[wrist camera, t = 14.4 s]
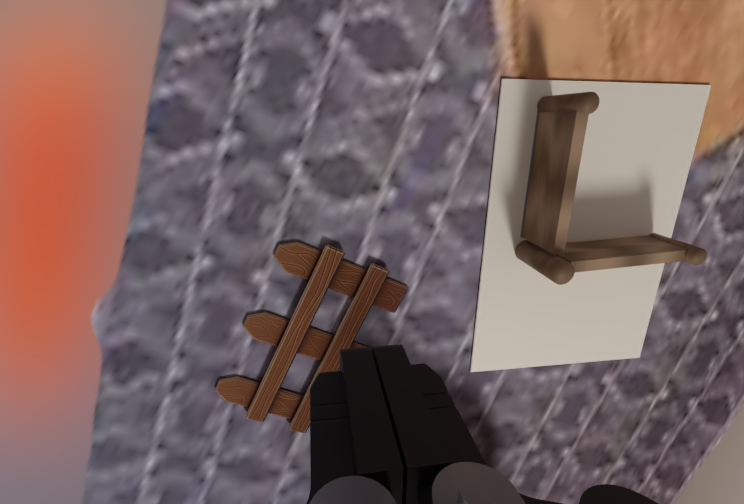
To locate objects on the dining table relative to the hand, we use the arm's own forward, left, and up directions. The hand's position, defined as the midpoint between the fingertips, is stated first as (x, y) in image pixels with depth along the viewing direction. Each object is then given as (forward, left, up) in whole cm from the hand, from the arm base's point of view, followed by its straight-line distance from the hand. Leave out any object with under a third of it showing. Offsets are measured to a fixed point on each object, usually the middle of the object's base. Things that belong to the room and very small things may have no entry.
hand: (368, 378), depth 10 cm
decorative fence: (+18, -2, -33) cm, 38 cm away
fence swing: (+7, +32, -31) cm, 45 cm away
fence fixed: (0, +23, -32) cm, 39 cm away
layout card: (+7, +30, -32) cm, 44 cm away
